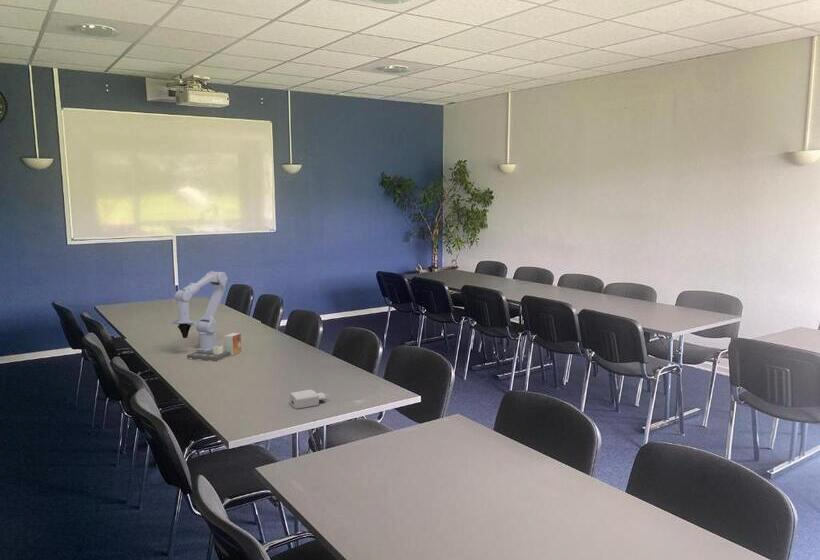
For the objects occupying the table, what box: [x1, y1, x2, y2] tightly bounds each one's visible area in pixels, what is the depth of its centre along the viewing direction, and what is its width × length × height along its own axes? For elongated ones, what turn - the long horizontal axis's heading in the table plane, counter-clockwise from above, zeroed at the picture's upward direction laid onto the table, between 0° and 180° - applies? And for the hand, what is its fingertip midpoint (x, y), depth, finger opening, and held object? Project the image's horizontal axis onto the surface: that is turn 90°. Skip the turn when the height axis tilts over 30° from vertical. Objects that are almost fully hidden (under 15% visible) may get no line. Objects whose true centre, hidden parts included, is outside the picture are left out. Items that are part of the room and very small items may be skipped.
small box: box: [223, 332, 242, 356], centre depth 323 cm, size 8×6×10 cm
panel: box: [186, 349, 231, 362], centre depth 316 cm, size 12×18×2 cm, turn 73°
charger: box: [289, 389, 330, 410], centre depth 243 cm, size 5×9×15 cm
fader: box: [212, 345, 224, 355], centre depth 314 cm, size 4×3×4 cm
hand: (185, 337), depth 320 cm, fingers closed
